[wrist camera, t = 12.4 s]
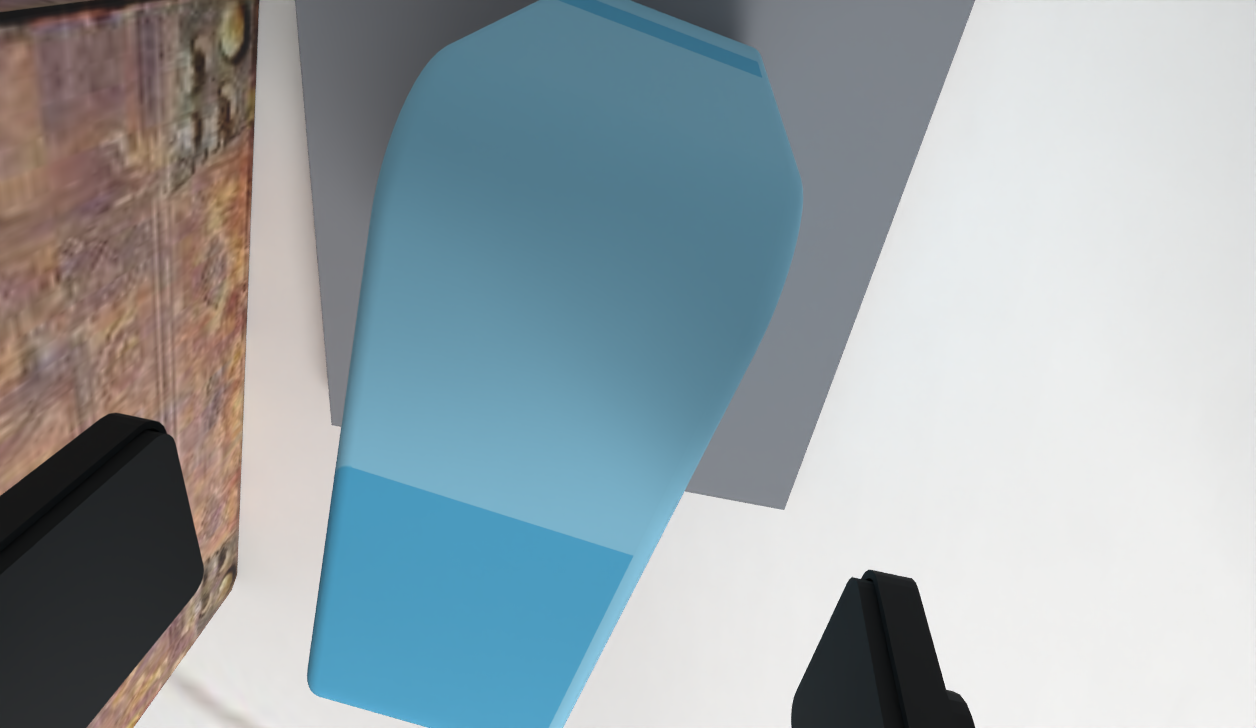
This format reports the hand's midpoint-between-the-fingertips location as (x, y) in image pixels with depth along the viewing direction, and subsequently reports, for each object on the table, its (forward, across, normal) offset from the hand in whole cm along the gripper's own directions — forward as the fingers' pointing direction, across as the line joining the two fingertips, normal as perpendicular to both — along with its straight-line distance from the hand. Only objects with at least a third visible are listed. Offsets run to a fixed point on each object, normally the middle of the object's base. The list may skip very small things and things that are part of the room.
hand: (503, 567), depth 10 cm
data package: (+12, +1, 0) cm, 12 cm away
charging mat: (+13, +1, -4) cm, 14 cm away
